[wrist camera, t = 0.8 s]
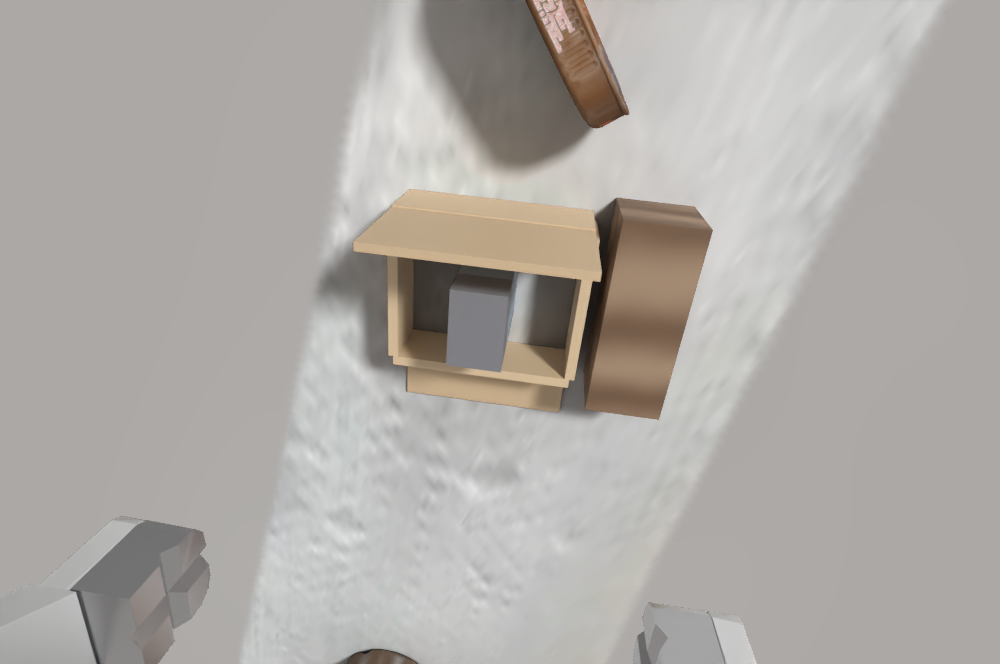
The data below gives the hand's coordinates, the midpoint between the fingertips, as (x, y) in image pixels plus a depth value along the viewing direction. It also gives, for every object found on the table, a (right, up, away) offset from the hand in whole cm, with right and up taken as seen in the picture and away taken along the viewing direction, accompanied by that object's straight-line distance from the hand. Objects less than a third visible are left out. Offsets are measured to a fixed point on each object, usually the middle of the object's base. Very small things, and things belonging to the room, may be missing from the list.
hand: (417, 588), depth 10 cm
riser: (+13, +8, +36) cm, 39 cm away
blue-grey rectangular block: (+1, +9, +37) cm, 38 cm away
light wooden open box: (+1, +7, +38) cm, 39 cm away
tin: (+6, +27, +27) cm, 38 cm away
